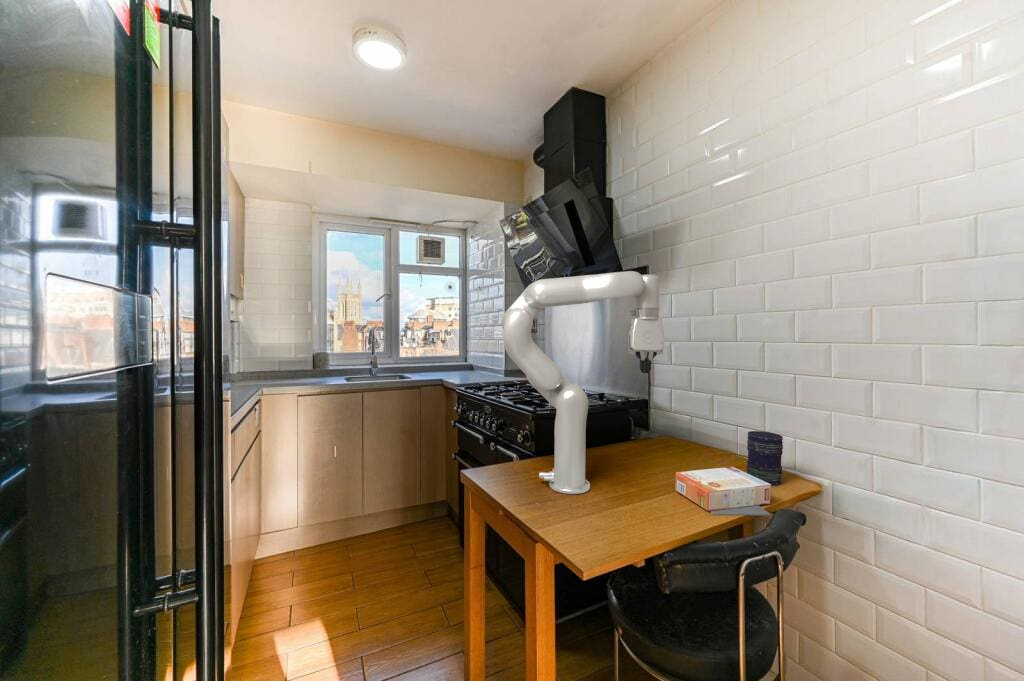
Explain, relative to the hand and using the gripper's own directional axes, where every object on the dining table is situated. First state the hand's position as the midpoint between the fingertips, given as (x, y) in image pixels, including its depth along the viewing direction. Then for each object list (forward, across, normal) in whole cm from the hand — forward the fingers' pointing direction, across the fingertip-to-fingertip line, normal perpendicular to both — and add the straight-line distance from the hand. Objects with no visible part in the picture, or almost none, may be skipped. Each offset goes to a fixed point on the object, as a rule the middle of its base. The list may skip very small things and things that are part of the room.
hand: (645, 372), depth 127 cm
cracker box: (+32, +8, -14) cm, 36 cm away
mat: (+35, +19, -15) cm, 43 cm away
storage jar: (+35, +40, +3) cm, 53 cm away
